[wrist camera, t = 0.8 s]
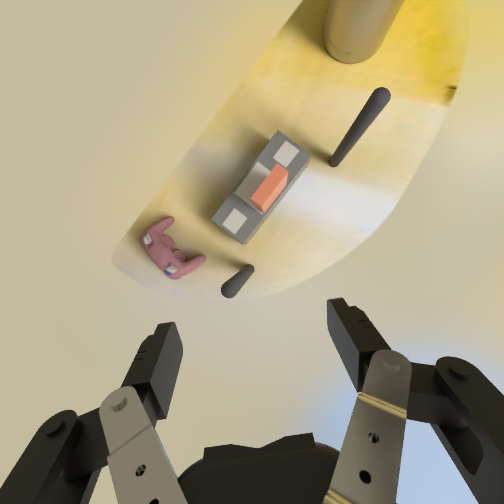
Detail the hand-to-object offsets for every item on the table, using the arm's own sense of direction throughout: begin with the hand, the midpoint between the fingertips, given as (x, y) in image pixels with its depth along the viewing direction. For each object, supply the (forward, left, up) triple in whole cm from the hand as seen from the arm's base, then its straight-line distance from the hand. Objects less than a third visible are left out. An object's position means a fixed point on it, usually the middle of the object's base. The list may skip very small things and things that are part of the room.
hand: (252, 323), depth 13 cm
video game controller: (+7, -14, -29) cm, 33 cm away
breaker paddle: (-9, -6, -23) cm, 26 cm away
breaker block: (-9, -8, -29) cm, 31 cm away
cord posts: (-9, -2, -29) cm, 30 cm away
